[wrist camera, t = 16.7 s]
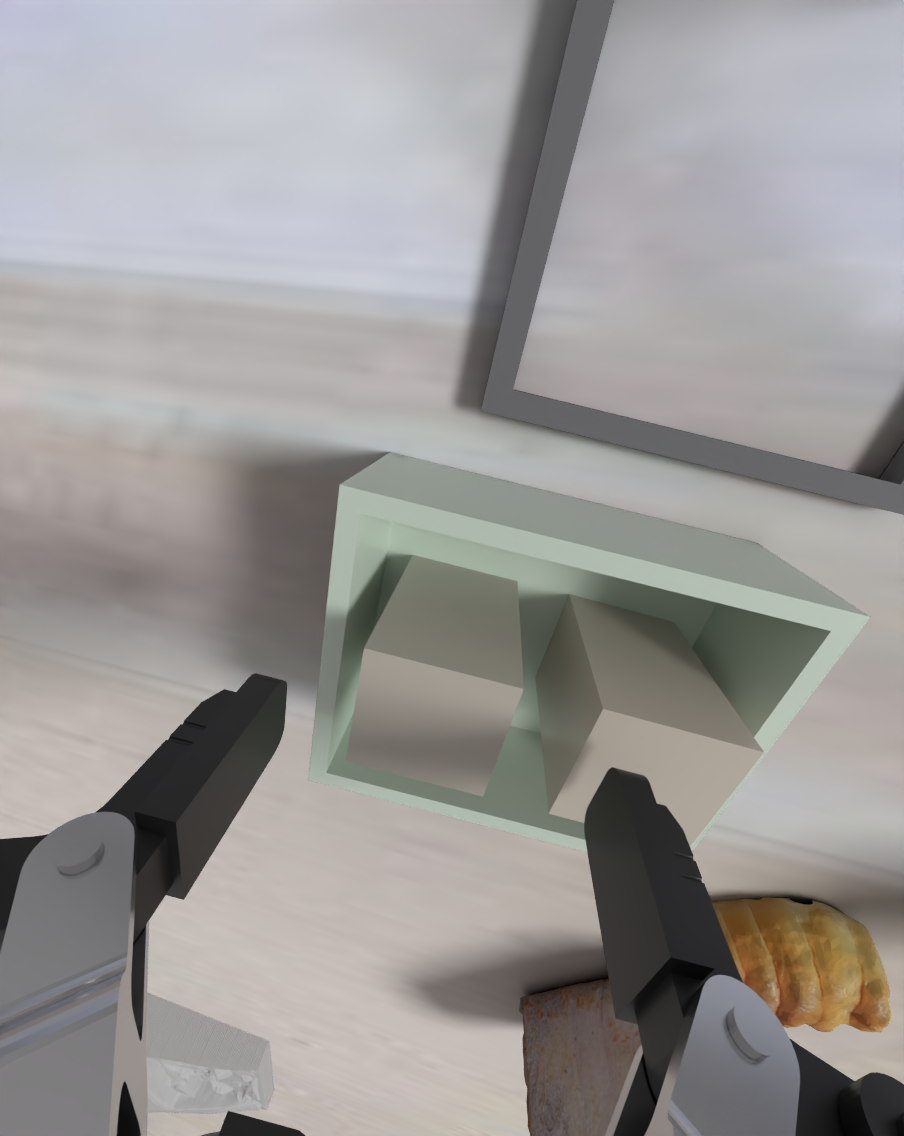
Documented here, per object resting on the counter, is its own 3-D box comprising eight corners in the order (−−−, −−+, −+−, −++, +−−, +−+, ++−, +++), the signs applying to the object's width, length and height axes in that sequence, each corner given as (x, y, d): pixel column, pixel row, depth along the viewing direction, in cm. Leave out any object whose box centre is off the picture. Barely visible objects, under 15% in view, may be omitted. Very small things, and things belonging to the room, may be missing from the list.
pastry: (655, 951, 26) (678, 1041, 22) (662, 881, 23) (690, 970, 20) (830, 964, 24) (884, 1061, 21) (858, 890, 22) (926, 988, 18)
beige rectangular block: (569, 593, 16) (602, 708, 10) (674, 621, 16) (763, 751, 10) (535, 677, 17) (548, 813, 12) (629, 702, 17) (686, 851, 12)
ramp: (331, 1070, 39) (307, 1168, 34) (235, 1092, 45) (202, 1180, 40) (69, 913, 33) (-8, 1008, 28) (-6, 963, 38) (-81, 1049, 33)
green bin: (390, 452, 15) (339, 484, 10) (757, 543, 15) (870, 617, 10) (354, 686, 19) (308, 780, 15) (634, 757, 19) (674, 874, 15)
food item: (705, 933, 24) (824, 1262, 15) (767, 1001, 26) (903, 1325, 17) (509, 982, 29) (511, 1256, 20) (574, 1036, 31) (602, 1306, 22)
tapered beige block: (413, 554, 16) (363, 647, 10) (517, 581, 16) (523, 689, 10) (395, 641, 17) (345, 761, 12) (489, 665, 17) (482, 796, 12)
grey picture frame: (713, -570, 7) (735, -675, 6) (1516, -401, 7) (1632, -489, 6) (482, 409, 14) (480, 410, 13) (887, 508, 14) (909, 515, 13)
